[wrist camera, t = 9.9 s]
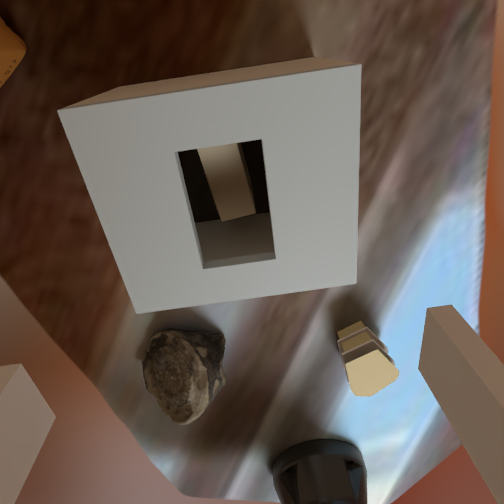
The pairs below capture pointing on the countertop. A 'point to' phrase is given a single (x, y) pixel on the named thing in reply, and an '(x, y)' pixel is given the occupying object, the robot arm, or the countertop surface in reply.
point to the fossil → (184, 372)
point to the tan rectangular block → (228, 180)
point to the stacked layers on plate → (365, 360)
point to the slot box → (214, 134)
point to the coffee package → (9, 51)
